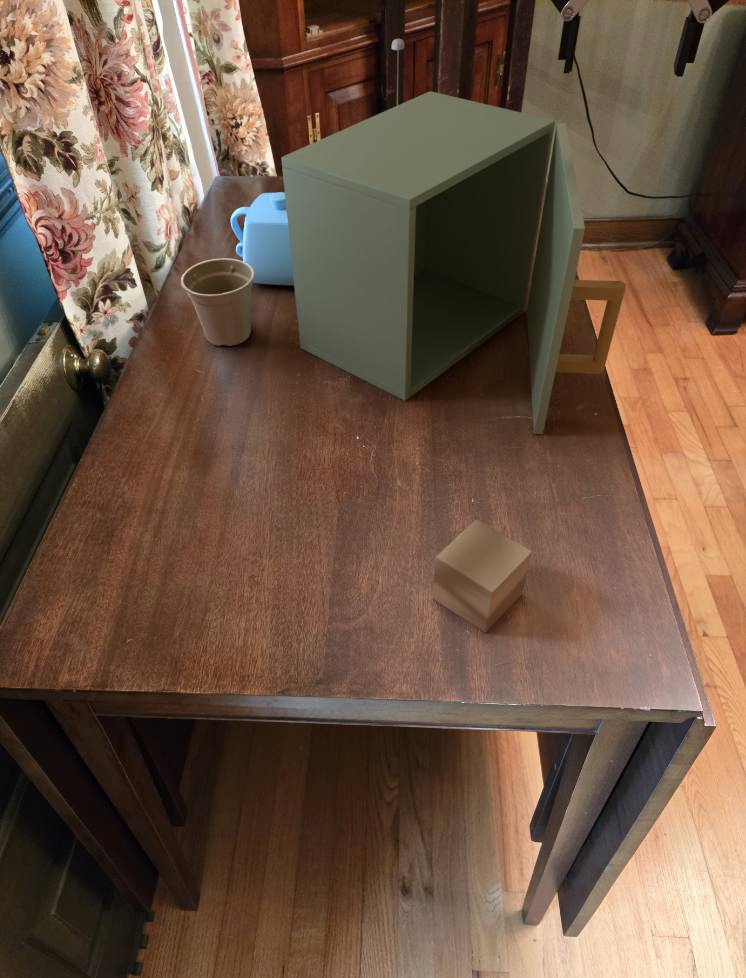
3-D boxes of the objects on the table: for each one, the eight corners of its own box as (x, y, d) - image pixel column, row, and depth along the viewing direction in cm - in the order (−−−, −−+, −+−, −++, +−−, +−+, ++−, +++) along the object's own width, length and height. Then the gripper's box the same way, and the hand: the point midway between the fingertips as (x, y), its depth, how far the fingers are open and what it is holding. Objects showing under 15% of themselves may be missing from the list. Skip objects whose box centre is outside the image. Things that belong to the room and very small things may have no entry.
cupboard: (525, 311, 100) (555, 120, 82) (405, 401, 88) (410, 199, 70) (422, 271, 109) (430, 90, 91) (300, 348, 96) (281, 157, 79)
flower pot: (239, 361, 95) (228, 301, 89) (180, 345, 98) (166, 286, 92) (275, 324, 101) (267, 265, 94) (218, 311, 104) (207, 253, 97)
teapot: (347, 296, 105) (343, 217, 96) (227, 290, 108) (214, 212, 99) (360, 255, 113) (358, 178, 104) (249, 250, 116) (238, 175, 107)
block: (522, 593, 68) (532, 551, 63) (485, 633, 65) (492, 592, 60) (470, 561, 70) (476, 518, 66) (432, 598, 68) (435, 556, 63)
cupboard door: (575, 313, 99) (616, 123, 81) (592, 437, 82) (649, 229, 64) (526, 312, 100) (556, 123, 82) (533, 434, 82) (573, 228, 65)
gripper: (798, -205, 54) (720, 60, 67) (561, -194, 58) (529, 56, 71) (814, -197, 49) (726, 87, 62) (554, -186, 53) (521, 80, 66)
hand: (622, 70), depth 66 cm, fingers open, 9 cm apart
